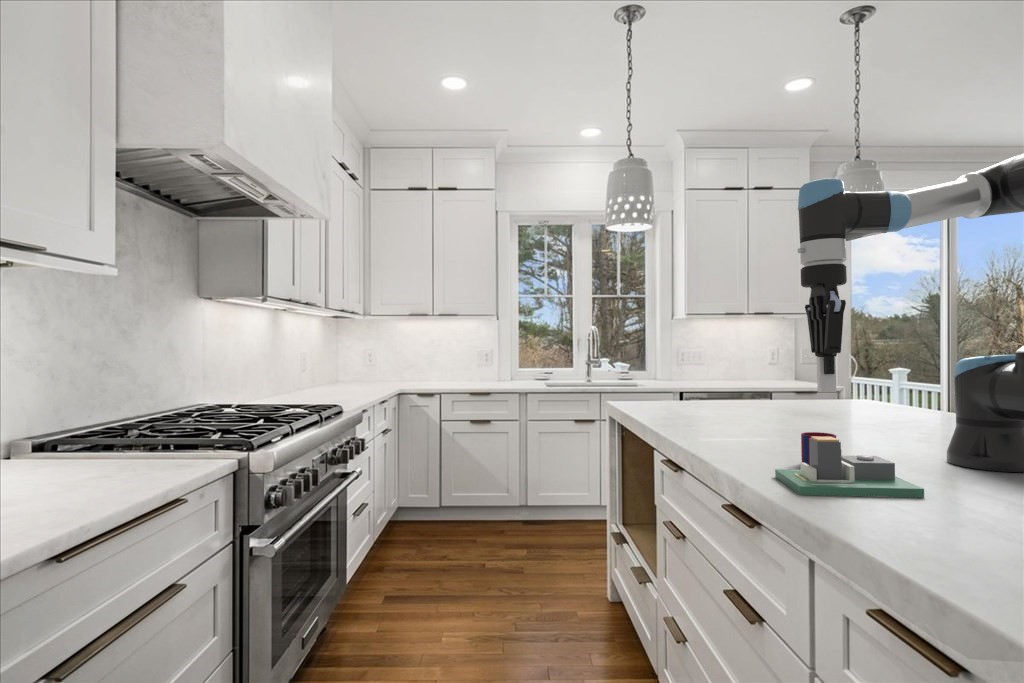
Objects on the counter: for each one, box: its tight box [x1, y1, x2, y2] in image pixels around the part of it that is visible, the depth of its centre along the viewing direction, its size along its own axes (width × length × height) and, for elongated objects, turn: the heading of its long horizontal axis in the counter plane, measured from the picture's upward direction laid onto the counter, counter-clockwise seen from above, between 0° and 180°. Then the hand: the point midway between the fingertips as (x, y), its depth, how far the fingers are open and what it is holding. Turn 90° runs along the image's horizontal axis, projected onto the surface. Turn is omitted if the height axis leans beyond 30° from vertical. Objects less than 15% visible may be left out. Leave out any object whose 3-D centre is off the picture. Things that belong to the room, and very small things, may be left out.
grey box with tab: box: [841, 454, 896, 480], centre depth 110 cm, size 7×7×4 cm
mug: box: [800, 431, 837, 465], centre depth 124 cm, size 7×10×7 cm
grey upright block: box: [809, 436, 842, 480], centre depth 108 cm, size 5×4×7 cm
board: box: [774, 461, 925, 498], centre depth 108 cm, size 20×14×4 cm
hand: (826, 391), depth 108 cm, fingers closed
